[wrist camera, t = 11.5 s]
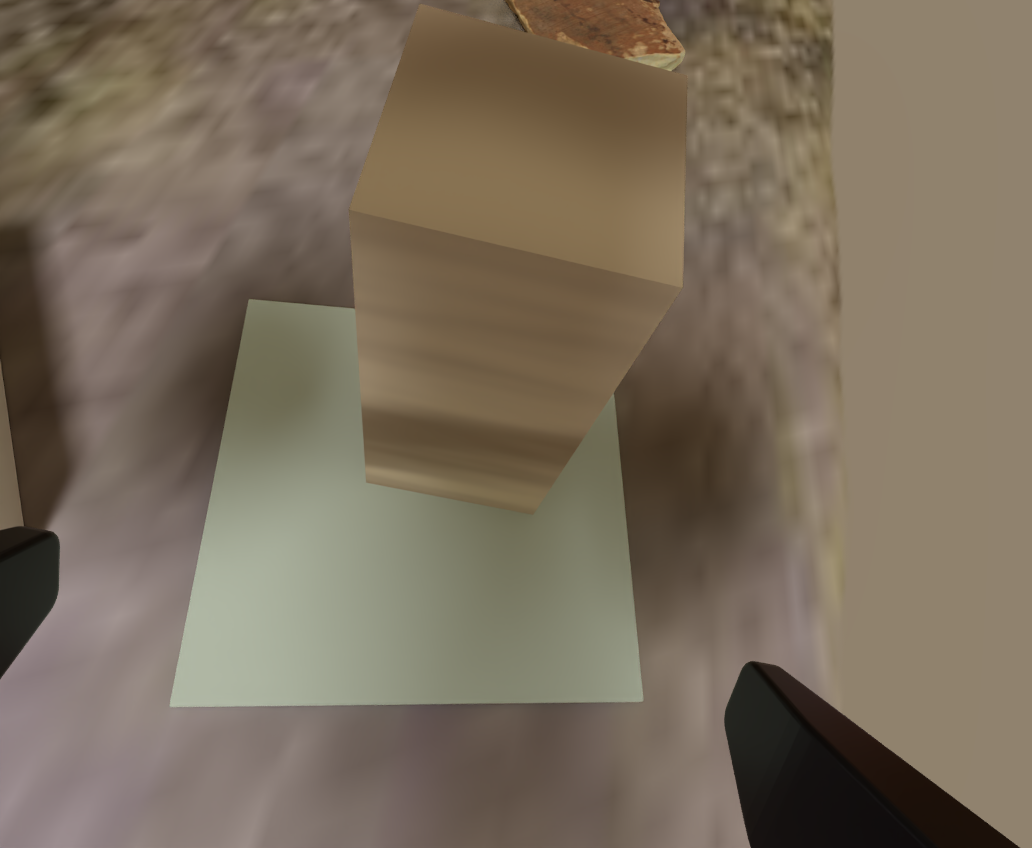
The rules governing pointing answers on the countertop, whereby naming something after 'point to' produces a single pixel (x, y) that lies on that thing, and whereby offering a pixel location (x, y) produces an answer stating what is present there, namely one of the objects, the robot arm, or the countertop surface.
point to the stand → (7, 471)
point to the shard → (605, 27)
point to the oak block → (509, 253)
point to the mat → (391, 557)
